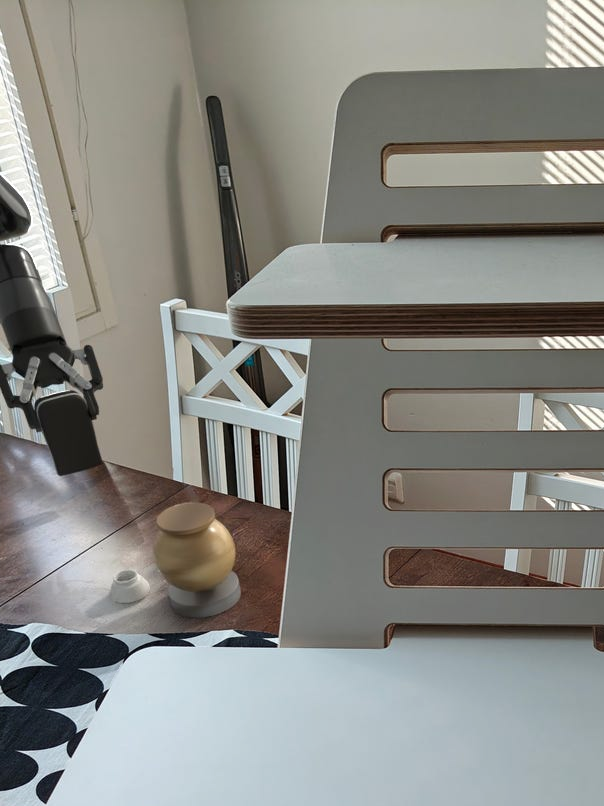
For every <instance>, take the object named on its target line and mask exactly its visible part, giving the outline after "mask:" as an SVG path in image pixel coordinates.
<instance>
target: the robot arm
mask: <svg viewBox="0 0 604 806" xmlns="http://www.w3.org/2000/svg"><path fill="white" fill-rule="evenodd" d="M32 224H33V216H32V211H31V208H30V206H29V203H28V202H27V201H26V199H25V198H24V196H23V195H22V194H21V193H20V192H19V190H18V189H17V187H15V186H14V185H13V184H12V183H11V182H10V181H9V180H8V179H7V178H6V177H5V176H4V175H3V174H2V173H1V172H0V243H1V242H3V241H7V240H10V239H15V238H19V237H22V236H24V235H26V234H28V232H29V231H30V230H31V228H32ZM0 325H1V328H2V330H3V332H4V336H5V338H6V341H7V345H8V347H9V350H10V352H11V355H12V361H11V362H10V363H5V364H1V363H0V391H1V394H2V397H3V399H4V402H5V405H6V406H7V408H9V409H12V410H13V409H15V408H16V409H20V410H22V412H23V414H24V416H25V419H26V422H27V426H28V427H29V429H31V430H35V433H36V434H38V433H42V431H41V427H40V424H39V421H38V418H37V415H36V413H35V409H34V404H33V401H34V398H35V397H36V394H37V390H38V388H41V389H44V388H48V387H50V386H53V385H54V386H60V385H63V384H65V382H66V383H67V384H68V385H69V386H71V387H72V388H73V389H76V390H78V391H79V392H80V393H81V394H82V397H83V398H84V399H85V401H86V403H87V406H88V409H89V412H90V415H91V419H92V421H95V420H98V418H97V417H98V416H100V407H99V403H98V401H97V398H96V396H95V393H96V392H98V391H101V390H103V389H104V383H103V379H104V378H103V376H102V371H101V369H100V366H99V363H98V361H97V357H96V354H95V350H94V348H93V346H92V345H90V344H86V345H84V346H83V348H79V349H74V350H73V349H72V348H71V347H70V346H69V345H68V343H67V341H66V338H65V335H64V333H63V329H62V327H61V324H60V321H59V318H58V316H57V313H56V310H55V307H54V305H53V303H52V300H51V298H50V296H49V293H48V292H47V290H46V288H45V286H44V283H43V281H42V278H41V275H40V273H39V269H38V267H37V263H36V261H35V258H34V257H33V255H32V253H31V252H30V250H29V249H27V248H26V247H24V246H22V245H19V244H12V243H3V244H0ZM76 360H78V361H80V363H81V364H82V365H85V366H87V368H88V370H89V374H90V377H91V379H90V380H87V379H86V378H85V377H83V376H82V375H81V374H80V373H79V371H78V370H77V369H75V368H74V364H75V361H76ZM14 372H15V373H16V374H18V375H19V376H20V377H22V378H23V379H24V380H23V383H22V389H21V392H20V395H17V394H16V395H15V394H13V391H12V388H11V386H10V384H9V381H11V380H12V379H13V376H12V374H13V373H14Z"/></svg>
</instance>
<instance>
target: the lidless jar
mask: <svg viewBox="0 0 604 806" xmlns="http://www.w3.org/2000/svg"><path fill="white" fill-rule="evenodd" d="M150 589H151V586H150V584H149V582H148V581H147V580H146V579H145V578H144V577H143V576H142V575H141V574H139V573H138V572H137V571H136V570H134V569H123V570H120V571H118V572H117V573H115V574H114V576H113V579H112V583H111V585H110V589H109V596H110V599H111V600H112V601H114V602H116V603H120V604H127V603H133V602H136V601H139V600H141V599H143V598H145V597H146V596H147V595H148V594H149V593H150Z"/></svg>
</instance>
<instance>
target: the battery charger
mask: <svg viewBox="0 0 604 806" xmlns="http://www.w3.org/2000/svg"><path fill="white" fill-rule="evenodd" d="M33 407H34V410H35V413H36V415H37V418H38V421H39V424H40V427H41V431H42V432H41V434H42V436H43V438H44V442H45V444H46V446H47V449H48V451H49V454H50V457H51V459H52V463H53V466H54V470H55V473H56V475H57V476H59V477H63V476H68V475H72V474H75V473H81V472H82V471H83V472H84V471H86V470H90V469H93V468H97V467H99V466H102V465H103V464H104V460H103V457H102V455H101V451H100V448H99V444H98V440H97V435H96V431H95V427H94V422H93V420H92V419H91V415H90V412H89V409H88V406H87V403H86V401H85V399H84V397H83V395H81V394H80V393H79V392H77V391H76V390H73V389H68V390H67V389H66V390H62V391H58V392H53V393H50V394H46V395H42V396H40V397H38V398H37V399H36V400H35V402H34V404H33Z"/></svg>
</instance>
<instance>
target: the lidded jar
mask: <svg viewBox="0 0 604 806" xmlns="http://www.w3.org/2000/svg"><path fill="white" fill-rule="evenodd" d="M156 525H157V528H158V532H157V534H156V536H155V539H154V543H153V549H152V554H153V560H154V564H155V567H156V569H157V571H158V572H159V575H160V576H161V577H162V579H164V580H165V581H166V582H167V583H168V584H169V585H168V588H167V595H168V599H169V603H170V605H171V608H172V610H173V611H174V612H175V613H176V614H178V615H179V616H182V617H185V618H189V619H190V618H191V619H204V618H210V617H213V616H218V615H220V614H222V612H223V613H224V611H225V612H227V611H228V610H230V609H232V608H233V607H234V606H235V605H236V604H237V603H238V602H239V600H240V599H241V595H242V589H241V585H240V580H239V577H238V576H237V575H238V574H237V573H235V572H234V571H233V568H234V566H235V562H236V545H235V541H234V539H233V536H232V535H231V533H230V531H229V530H228V528H227V527H226V526H225V525H224V524H223V523H222V522H221V521H219V520H218V519H216V513H215V509H214V508H213V507H212V506H211V505H209V504H207V503H203V502H194V501H192V502H183V503H178V504H175V505H173V506H170V507H168V508H166V509H164V510H163V511H161V513H159V515H158V516H157V518H156ZM209 616H210V617H209Z"/></svg>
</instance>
